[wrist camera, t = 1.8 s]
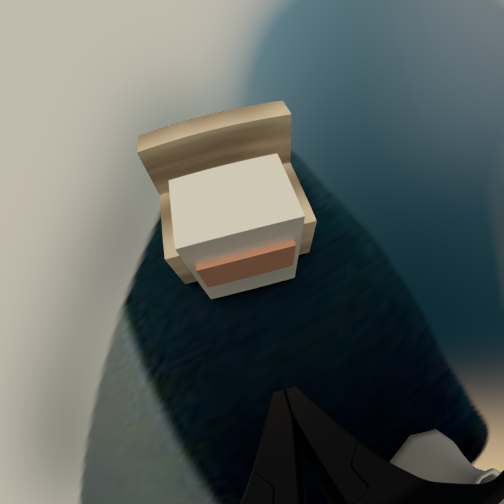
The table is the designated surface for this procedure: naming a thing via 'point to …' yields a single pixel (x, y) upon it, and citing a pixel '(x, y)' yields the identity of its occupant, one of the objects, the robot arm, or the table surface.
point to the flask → (438, 460)
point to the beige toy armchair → (218, 158)
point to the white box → (237, 225)
